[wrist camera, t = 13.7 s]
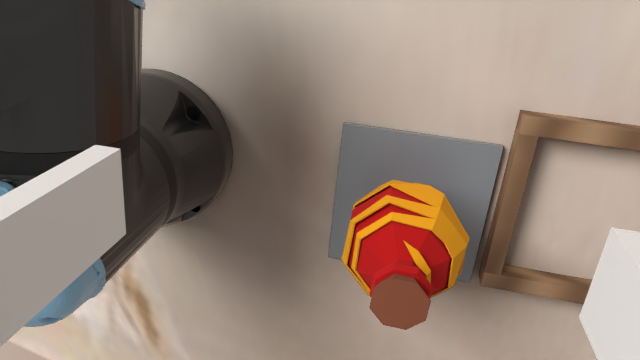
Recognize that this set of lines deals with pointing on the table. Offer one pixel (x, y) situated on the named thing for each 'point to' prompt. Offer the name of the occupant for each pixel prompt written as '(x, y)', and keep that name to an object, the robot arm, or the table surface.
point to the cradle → (512, 192)
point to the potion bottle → (404, 249)
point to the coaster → (415, 176)
